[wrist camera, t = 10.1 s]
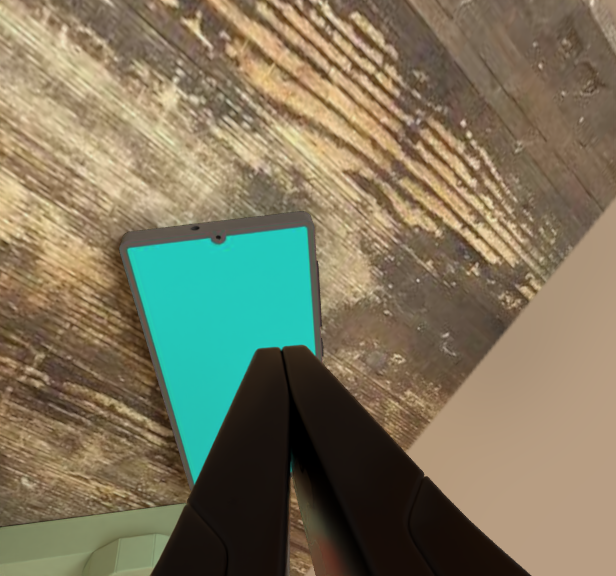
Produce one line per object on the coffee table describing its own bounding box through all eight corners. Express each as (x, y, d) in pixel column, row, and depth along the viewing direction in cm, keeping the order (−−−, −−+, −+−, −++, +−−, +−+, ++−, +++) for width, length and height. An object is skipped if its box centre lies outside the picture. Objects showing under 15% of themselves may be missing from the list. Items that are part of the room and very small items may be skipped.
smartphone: (191, 494, 28) (116, 243, 19) (192, 480, 29) (120, 232, 20) (330, 471, 29) (316, 218, 20) (327, 458, 29) (313, 209, 21)
